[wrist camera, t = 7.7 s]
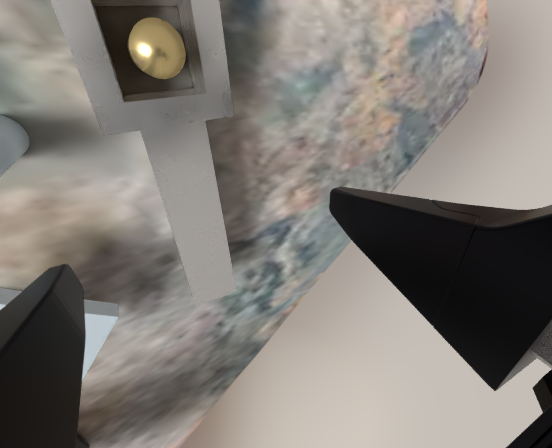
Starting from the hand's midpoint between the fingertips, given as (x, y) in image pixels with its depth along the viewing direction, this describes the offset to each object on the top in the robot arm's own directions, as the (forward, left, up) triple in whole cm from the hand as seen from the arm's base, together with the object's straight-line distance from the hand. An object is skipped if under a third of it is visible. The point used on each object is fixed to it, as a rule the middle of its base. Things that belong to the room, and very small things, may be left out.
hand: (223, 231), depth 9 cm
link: (-1, 0, -9) cm, 9 cm away
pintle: (+5, 0, -9) cm, 11 cm away
